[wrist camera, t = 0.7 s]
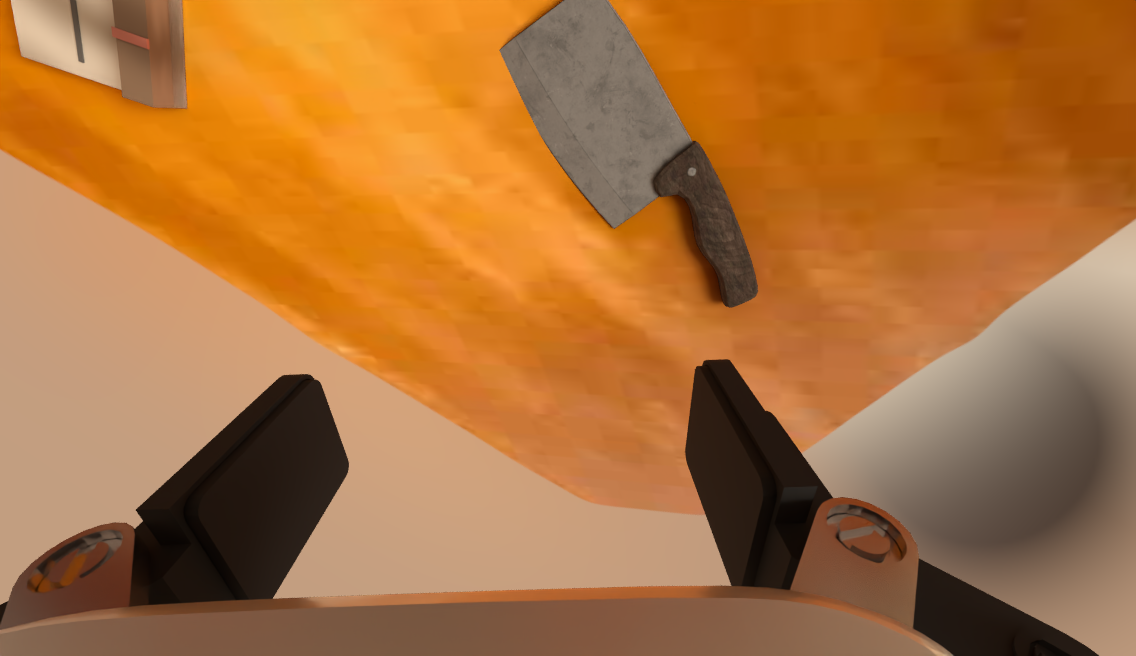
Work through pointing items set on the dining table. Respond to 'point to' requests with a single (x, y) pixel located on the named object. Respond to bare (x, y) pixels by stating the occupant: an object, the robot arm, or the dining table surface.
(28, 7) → the fence board
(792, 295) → the dining table surface
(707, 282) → the dining table surface
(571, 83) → the cleaver
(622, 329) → the dining table surface
